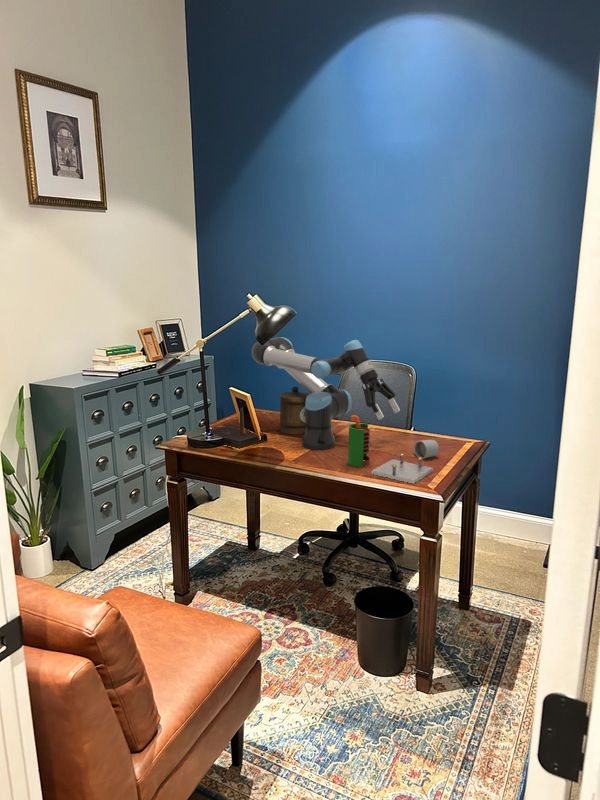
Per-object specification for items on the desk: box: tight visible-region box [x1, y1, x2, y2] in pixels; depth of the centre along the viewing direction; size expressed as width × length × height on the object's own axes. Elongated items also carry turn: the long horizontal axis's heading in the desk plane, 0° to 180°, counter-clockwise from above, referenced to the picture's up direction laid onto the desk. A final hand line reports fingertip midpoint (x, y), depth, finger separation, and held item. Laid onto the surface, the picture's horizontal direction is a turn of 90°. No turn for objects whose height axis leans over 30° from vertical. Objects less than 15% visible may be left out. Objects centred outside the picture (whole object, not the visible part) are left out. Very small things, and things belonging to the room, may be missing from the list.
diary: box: [202, 424, 268, 449], centre depth 280 cm, size 19×25×5 cm
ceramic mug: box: [413, 439, 440, 460], centre depth 257 cm, size 11×8×8 cm
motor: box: [347, 414, 371, 468], centre depth 247 cm, size 10×9×20 cm
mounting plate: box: [371, 452, 434, 485], centre depth 237 cm, size 18×17×5 cm
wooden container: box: [279, 386, 310, 435], centre depth 295 cm, size 15×15×22 cm
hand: (389, 415), depth 263 cm, fingers open, 13 cm apart
